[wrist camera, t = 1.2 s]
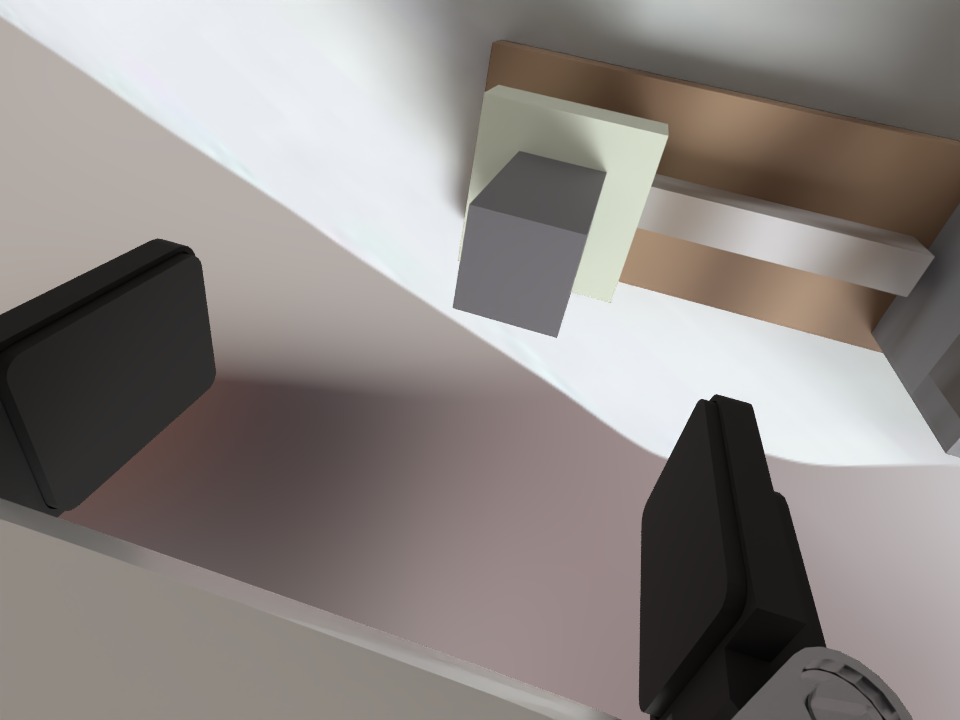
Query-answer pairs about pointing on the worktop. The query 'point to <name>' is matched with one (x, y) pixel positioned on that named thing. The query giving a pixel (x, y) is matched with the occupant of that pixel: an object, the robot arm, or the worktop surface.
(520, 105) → the carriage
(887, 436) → the worktop surface
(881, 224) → the rail bench
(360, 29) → the worktop surface
